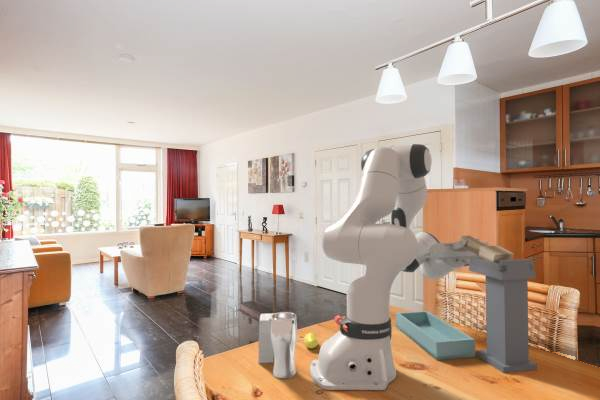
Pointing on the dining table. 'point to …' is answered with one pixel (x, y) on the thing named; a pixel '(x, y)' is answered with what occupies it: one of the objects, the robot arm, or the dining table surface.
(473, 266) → the chute stand
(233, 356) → the dining table surface
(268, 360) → the skincare box
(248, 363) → the dining table surface
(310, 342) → the lemon
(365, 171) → the robot arm
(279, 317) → the beer glass
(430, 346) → the teal bin
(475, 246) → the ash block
